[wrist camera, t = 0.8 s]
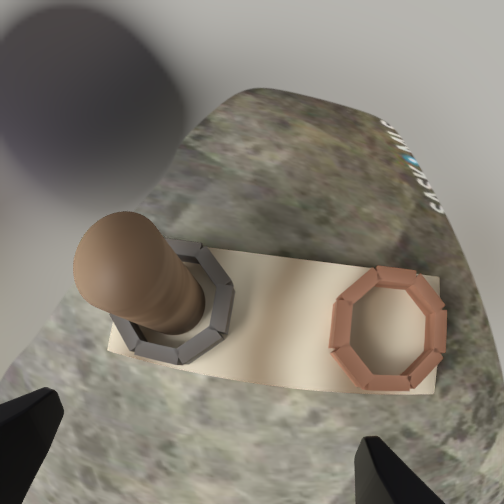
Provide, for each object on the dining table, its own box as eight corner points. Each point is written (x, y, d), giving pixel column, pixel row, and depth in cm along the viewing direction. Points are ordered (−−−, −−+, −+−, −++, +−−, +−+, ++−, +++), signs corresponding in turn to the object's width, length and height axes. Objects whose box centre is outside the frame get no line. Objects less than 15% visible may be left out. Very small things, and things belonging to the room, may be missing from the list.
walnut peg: (154, 343, 20) (82, 323, 11) (137, 284, 21) (68, 233, 13) (214, 322, 20) (176, 288, 12) (193, 263, 22) (150, 197, 13)
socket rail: (432, 281, 21) (448, 270, 19) (426, 393, 18) (444, 394, 16) (140, 243, 24) (127, 229, 21) (114, 351, 21) (97, 348, 18)
